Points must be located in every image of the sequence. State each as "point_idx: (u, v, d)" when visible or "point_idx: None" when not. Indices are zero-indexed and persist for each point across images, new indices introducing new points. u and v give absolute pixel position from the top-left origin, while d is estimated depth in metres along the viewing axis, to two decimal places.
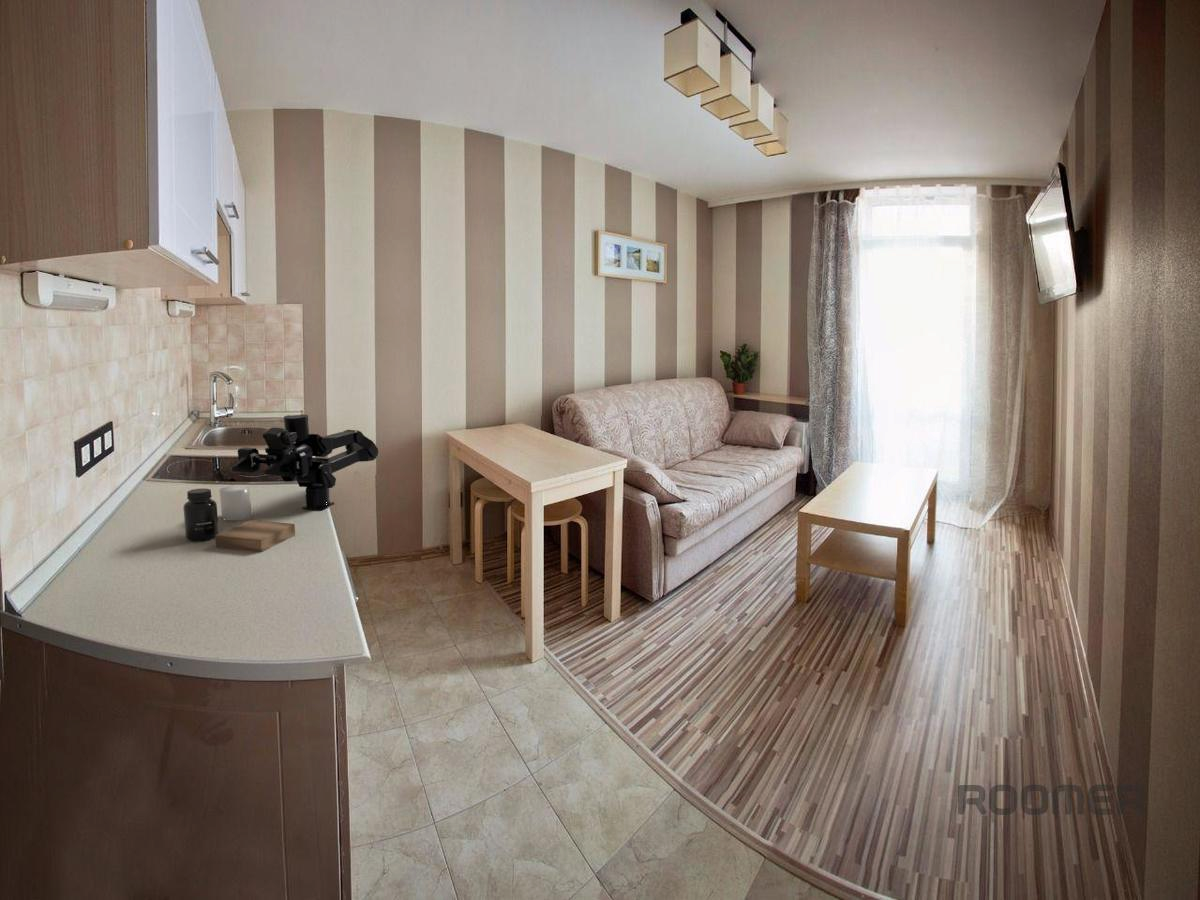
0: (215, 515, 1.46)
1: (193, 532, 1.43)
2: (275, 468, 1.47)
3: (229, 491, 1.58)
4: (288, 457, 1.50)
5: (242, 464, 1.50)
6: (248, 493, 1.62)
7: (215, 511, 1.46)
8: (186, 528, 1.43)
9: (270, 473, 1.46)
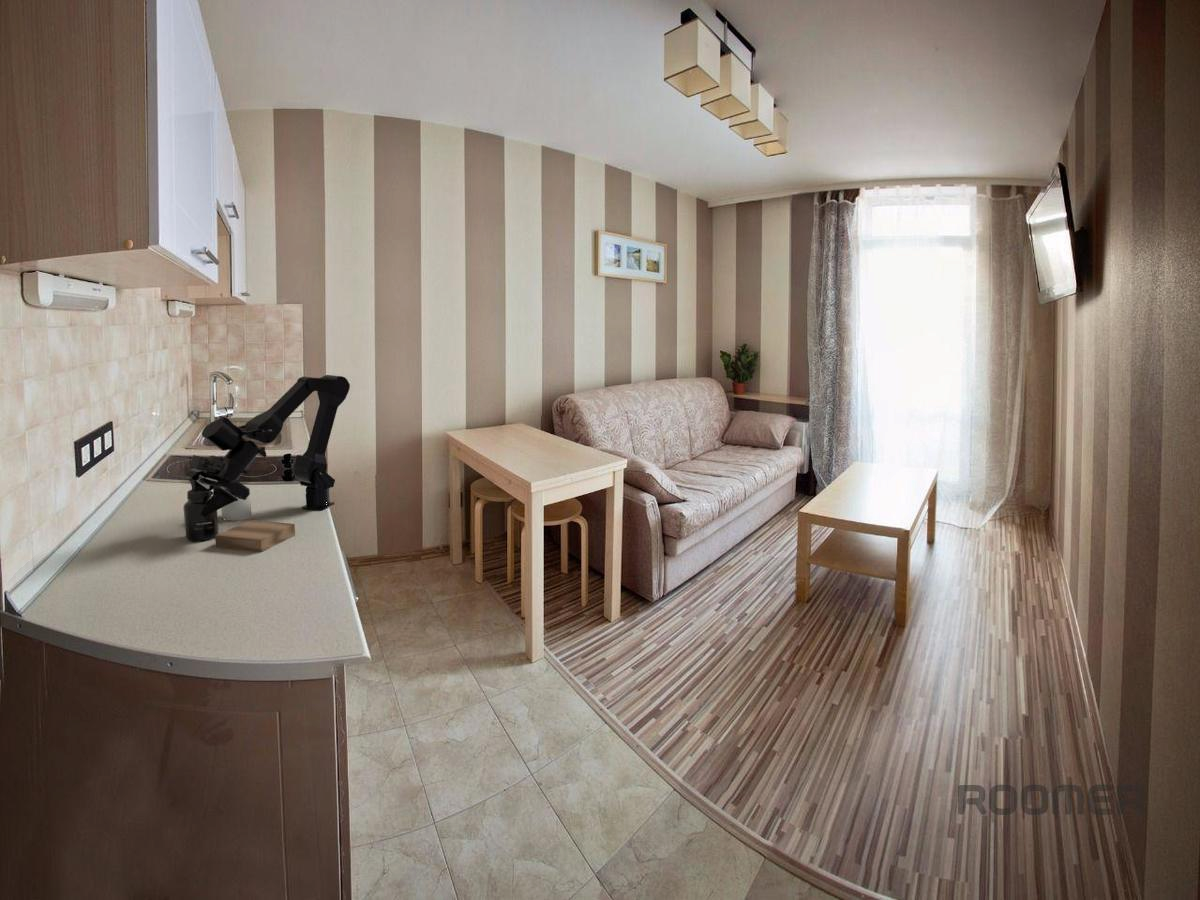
0: (215, 515, 1.46)
1: (193, 532, 1.43)
2: (210, 507, 1.43)
3: None
4: (216, 490, 1.42)
5: None
6: None
7: (215, 511, 1.46)
8: (186, 528, 1.43)
9: (208, 513, 1.43)
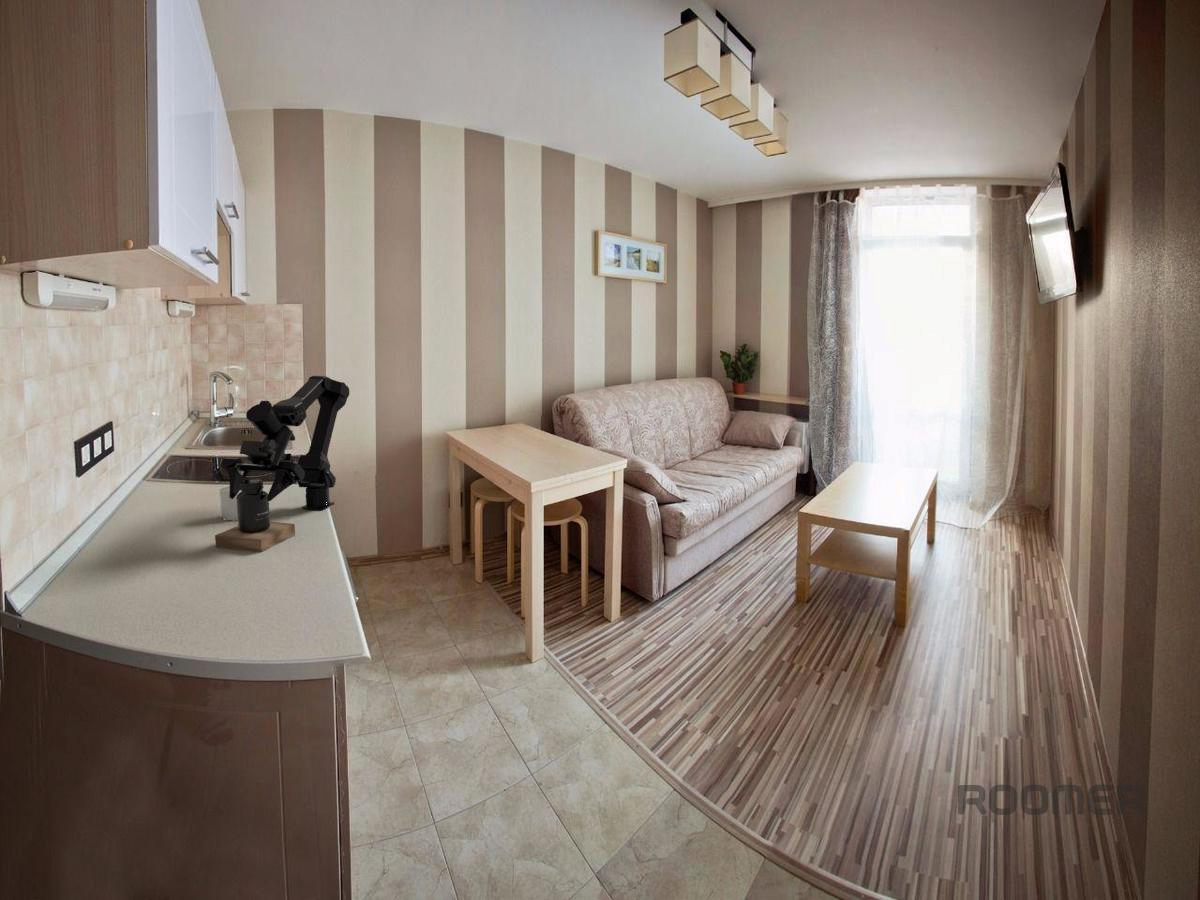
0: None
1: (253, 523, 1.41)
2: (275, 490, 1.43)
3: (229, 491, 1.58)
4: (281, 474, 1.43)
5: (235, 485, 1.44)
6: None
7: None
8: (244, 520, 1.41)
9: (273, 497, 1.43)
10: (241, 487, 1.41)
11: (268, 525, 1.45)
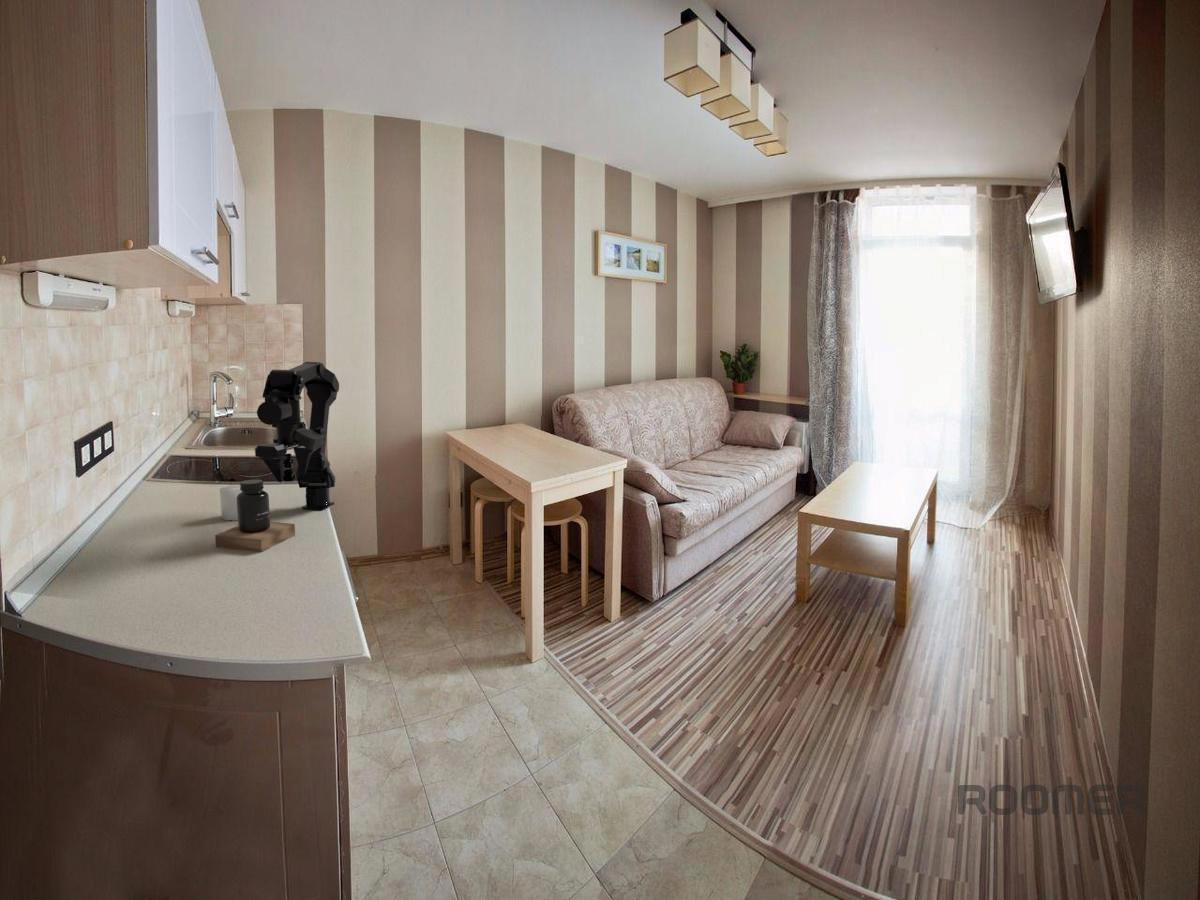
0: None
1: (253, 524, 1.41)
2: None
3: (230, 491, 1.58)
4: (314, 450, 1.60)
5: None
6: None
7: None
8: (244, 520, 1.41)
9: None
10: (241, 487, 1.41)
11: (268, 525, 1.45)
